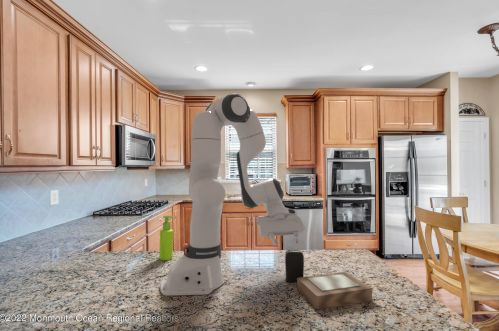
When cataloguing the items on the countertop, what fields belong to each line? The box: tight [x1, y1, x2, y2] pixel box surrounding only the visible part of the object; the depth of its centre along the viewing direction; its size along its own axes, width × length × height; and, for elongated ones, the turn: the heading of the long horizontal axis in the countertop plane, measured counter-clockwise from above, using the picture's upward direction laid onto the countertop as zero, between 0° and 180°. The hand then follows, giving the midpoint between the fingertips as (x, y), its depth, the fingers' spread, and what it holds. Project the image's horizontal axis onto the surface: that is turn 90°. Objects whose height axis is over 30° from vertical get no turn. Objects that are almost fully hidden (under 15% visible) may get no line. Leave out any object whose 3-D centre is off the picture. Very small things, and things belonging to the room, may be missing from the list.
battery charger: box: [284, 249, 305, 283], centre depth 91 cm, size 7×4×11 cm, turn 87°
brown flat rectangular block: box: [296, 271, 373, 310], centre depth 81 cm, size 20×13×4 cm, turn 106°
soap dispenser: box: [158, 215, 176, 261], centre depth 114 cm, size 6×7×20 cm
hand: (286, 243), depth 98 cm, fingers open, 8 cm apart
